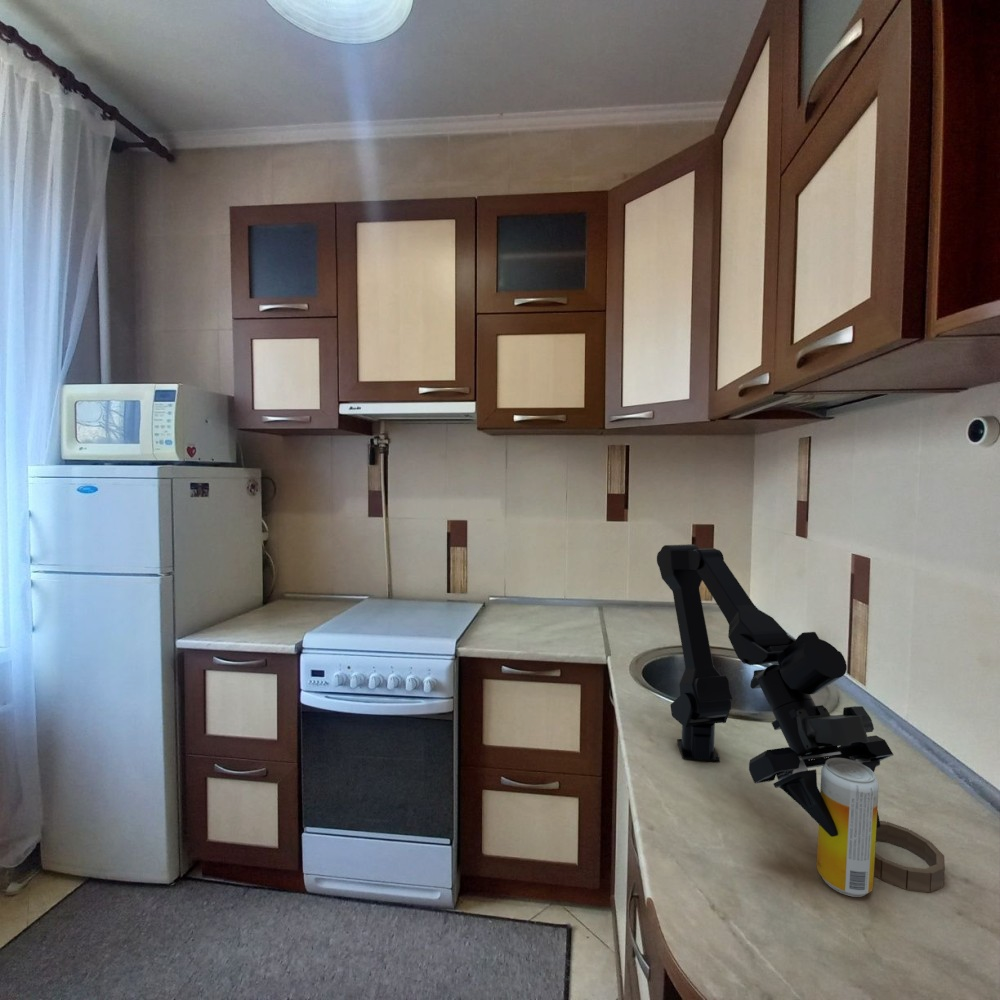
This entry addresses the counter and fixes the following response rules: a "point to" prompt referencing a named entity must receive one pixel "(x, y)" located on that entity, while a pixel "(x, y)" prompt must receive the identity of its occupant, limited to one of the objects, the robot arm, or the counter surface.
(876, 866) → the collar
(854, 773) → the beer can
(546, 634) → the counter surface
